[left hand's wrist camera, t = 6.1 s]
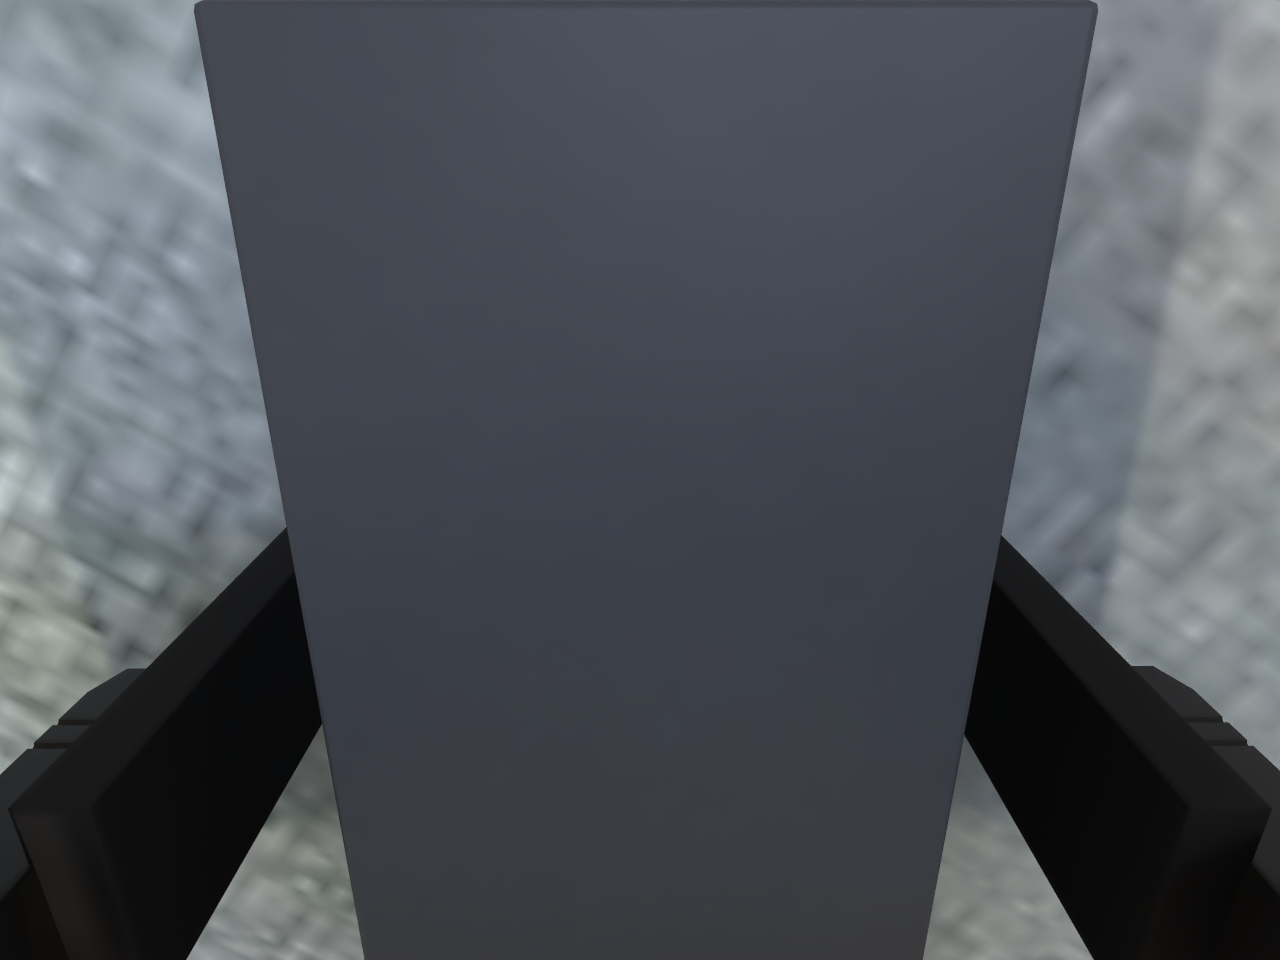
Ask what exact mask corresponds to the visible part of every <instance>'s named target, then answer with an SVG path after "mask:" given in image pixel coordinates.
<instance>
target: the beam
mask: <svg viewBox="0 0 1280 960" xmlns="http://www.w3.org/2000/svg"><path fill="white" fill-rule="evenodd" d="M1097 13H1098V7H1097V4H1096V3H1094V2H1092V1H1090V0H202V1H200V2H198V3H196V4H195V8H194V14H195V19H196V25H197V30H198V36H199V41H200V47H201V52H202V58H203V64H204V69H205V75H206V80H207V86H208V91H209V97H210V102H211V108H212V114H213V119H214V125H215V130H216V136H217V141H218V147H219V152H220V158H221V164H222V169H223V175H224V180H225V186H226V191H227V197H228V202H229V208H230V214H231V219H232V225H233V230H234V236H235V241H236V247H237V252H238V258H239V264H240V269H241V275H242V280H243V286H244V291H245V297H246V302H247V308H248V314H249V319H250V325H251V330H252V336H253V341H254V347H255V353H256V358H257V364H258V369H259V375H260V380H261V386H262V391H263V397H264V403H265V408H266V414H267V419H268V425H269V430H270V436H271V441H272V447H273V453H274V458H275V464H276V469H277V475H278V480H279V486H280V491H281V497H282V503H283V508H284V514H285V519H286V525H287V530H288V536H289V541H290V547H291V553H292V558H293V564H294V569H295V575H296V580H297V586H298V591H299V597H300V603H301V608H302V614H303V619H304V625H305V630H306V636H307V641H308V647H309V653H310V658H311V664H312V669H313V675H314V680H315V686H316V691H317V697H318V703H319V708H320V714H321V719H322V725H323V730H324V736H325V741H326V747H327V753H328V758H329V764H330V769H331V775H332V780H333V786H334V791H335V797H336V803H337V808H338V814H339V819H340V825H341V830H342V836H343V841H344V847H345V853H346V858H347V864H348V869H349V875H350V880H351V886H352V892H353V897H354V903H355V908H356V914H357V919H358V925H359V930H360V936H361V942H362V947H363V953H364V958H365V960H922V959H923V954H924V949H925V943H926V938H927V932H928V927H929V922H930V916H931V911H932V905H933V900H934V895H935V889H936V884H937V878H938V873H939V867H940V862H941V857H942V851H943V846H944V840H945V835H946V830H947V824H948V819H949V813H950V808H951V803H952V797H953V792H954V786H955V781H956V776H957V770H958V765H959V759H960V754H961V749H962V743H963V738H964V732H965V727H966V722H967V716H968V711H969V705H970V700H971V694H972V689H973V684H974V678H975V673H976V667H977V662H978V657H979V651H980V646H981V640H982V635H983V630H984V624H985V619H986V613H987V608H988V603H989V597H990V592H991V586H992V581H993V576H994V570H995V565H996V559H997V554H998V548H999V543H1000V538H1001V532H1002V527H1003V521H1004V516H1005V511H1006V505H1007V500H1008V494H1009V489H1010V484H1011V478H1012V473H1013V467H1014V462H1015V457H1016V451H1017V446H1018V440H1019V435H1020V430H1021V424H1022V419H1023V413H1024V408H1025V403H1026V397H1027V392H1028V386H1029V381H1030V375H1031V370H1032V365H1033V359H1034V354H1035V348H1036V343H1037V338H1038V332H1039V327H1040V321H1041V316H1042V311H1043V305H1044V300H1045V294H1046V289H1047V284H1048V278H1049V273H1050V267H1051V262H1052V257H1053V251H1054V246H1055V240H1056V235H1057V230H1058V224H1059V219H1060V213H1061V208H1062V202H1063V197H1064V192H1065V186H1066V181H1067V175H1068V170H1069V165H1070V159H1071V154H1072V148H1073V143H1074V138H1075V132H1076V127H1077V121H1078V116H1079V111H1080V105H1081V100H1082V94H1083V89H1084V84H1085V78H1086V73H1087V67H1088V62H1089V56H1090V51H1091V46H1092V40H1093V35H1094V29H1095V24H1096V19H1097Z"/></svg>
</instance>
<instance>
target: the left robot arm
mask: <svg viewBox="0 0 1280 960" xmlns="http://www.w3.org/2000/svg"><path fill="white" fill-rule="evenodd" d="M321 724H322V719H321V714H320V708H319V703H318V697H317V691H316V686H315V680H314V675H313V669H312V664H311V658H310V653H309V647H308V641H307V636H306V630H305V625H304V619H303V614H302V608H301V603H300V597H299V591H298V586H297V580H296V575H295V569H294V564H293V558H292V553H291V547H290V541H289V536H288V530H287V527H286V528H285V529H284V530H283V531H282V532H281V533H280V534H279V535H278V536H277V537H276V538H275V539H274V540H273V541H272V542H271V543H270V544H269V546H268V547H267V548H266V549H265V550H264V551H263V552H262V553H261V554H260V555H259V556H258V557H257V558H256V559H255V560H254V561H253V562H252V563H251V564H250V565H249V566H248V567H247V568H246V569H245V570H244V571H243V572H242V573H241V574H240V575H239V576H238V577H237V578H236V579H235V580H234V581H233V582H232V583H231V584H230V585H229V586H228V587H227V588H226V589H225V590H224V591H223V592H222V593H221V594H220V595H219V596H218V597H217V598H216V599H215V600H214V601H213V602H212V603H211V604H210V605H209V606H208V607H207V608H206V609H205V610H204V611H203V612H202V613H201V614H200V615H199V616H198V617H197V618H196V619H195V620H194V621H193V622H192V623H191V624H190V625H189V626H188V627H187V628H186V629H185V630H184V631H183V632H182V633H181V634H180V635H179V636H178V637H177V638H176V639H175V640H174V641H173V642H172V643H171V644H170V645H169V646H168V647H167V648H166V649H165V650H164V651H163V652H162V653H161V654H160V655H159V656H158V657H157V658H156V659H155V660H154V662H153V663H152V664H151V665H150V666H149V667H148V668H147V669H126V670H125V671H123V672H121V673H120V674H118V675H116V676H114V677H113V678H111V679H109V680H108V681H106V682H104V683H103V684H101V685H99V686H97V687H96V688H94V689H92V690H91V691H89V692H87V693H86V694H85V695H84V696H83V697H82V698H81V699H80V700H79V701H78V702H77V703H76V704H75V705H74V706H73V707H71V708H70V709H69V710H68V711H67V712H66V713H65V714H64V715H63V716H62V717H61V718H60V719H59V722H58V725H52V726H51V727H50V728H49V729H48V730H47V731H46V732H45V733H44V734H43V735H42V736H41V737H40V738H39V739H38V740H37V741H35V742H34V747H33V749H27V750H26V751H25V752H24V753H23V754H22V755H21V756H20V757H19V758H17V759H16V760H15V761H14V762H13V763H12V764H11V765H10V766H9V767H8V768H7V769H6V770H5V771H4V772H3V773H2V774H1V775H0V960H186V959H187V957H188V956H189V954H190V952H191V950H192V949H193V947H194V945H195V944H196V942H197V940H198V938H199V937H200V935H201V933H202V931H203V930H204V928H205V926H206V924H207V923H208V921H209V919H210V917H211V916H212V914H213V912H214V910H215V909H216V907H217V905H218V904H219V902H220V900H221V898H222V897H223V895H224V893H225V891H226V890H227V888H228V886H229V884H230V883H231V881H232V879H233V877H234V876H235V874H236V872H237V871H238V869H239V867H240V865H241V864H242V862H243V860H244V858H245V857H246V855H247V853H248V851H249V850H250V848H251V846H252V844H253V843H254V841H255V839H256V837H257V836H258V834H259V832H260V831H261V829H262V827H263V825H264V824H265V822H266V820H267V818H268V817H269V815H270V813H271V811H272V810H273V808H274V806H275V804H276V803H277V801H278V799H279V797H280V796H281V794H282V792H283V791H284V789H285V787H286V785H287V784H288V782H289V780H290V778H291V777H292V775H293V773H294V771H295V770H296V768H297V766H298V764H299V763H300V761H301V759H302V758H303V756H304V754H305V752H306V751H307V749H308V747H309V745H310V744H311V742H312V740H313V738H314V737H315V735H316V733H317V731H318V730H319V728H320V726H321ZM964 735H965V737H966V738H967V740H968V742H969V744H970V745H971V747H972V749H973V751H974V752H975V754H976V756H977V757H978V759H979V761H980V763H981V764H982V766H983V768H984V770H985V771H986V773H987V775H988V777H989V778H990V780H991V782H992V784H993V785H994V787H995V789H996V791H997V792H998V794H999V796H1000V797H1001V799H1002V801H1003V803H1004V804H1005V806H1006V808H1007V810H1008V811H1009V813H1010V815H1011V817H1012V818H1013V820H1014V822H1015V824H1016V825H1017V827H1018V829H1019V830H1020V832H1021V834H1022V836H1023V837H1024V839H1025V841H1026V843H1027V844H1028V846H1029V848H1030V850H1031V851H1032V853H1033V855H1034V857H1035V858H1036V860H1037V862H1038V864H1039V865H1040V867H1041V869H1042V870H1043V872H1044V874H1045V876H1046V877H1047V879H1048V881H1049V883H1050V884H1051V886H1052V888H1053V890H1054V891H1055V893H1056V895H1057V897H1058V898H1059V900H1060V902H1061V904H1062V905H1063V907H1064V909H1065V910H1066V912H1067V914H1068V916H1069V917H1070V919H1071V921H1072V923H1073V924H1074V926H1075V928H1076V930H1077V931H1078V933H1079V935H1080V937H1081V938H1082V940H1083V942H1084V943H1085V945H1086V947H1087V949H1088V950H1089V952H1090V954H1091V956H1092V957H1093V959H1094V960H1280V771H1279V770H1278V769H1277V768H1276V767H1275V766H1274V765H1273V764H1272V763H1271V762H1270V761H1269V760H1268V759H1267V758H1266V757H1265V756H1263V755H1262V754H1261V753H1260V752H1259V751H1258V750H1257V749H1256V748H1255V747H1254V746H1248V745H1247V740H1246V739H1245V738H1244V737H1243V736H1242V735H1241V734H1240V733H1239V732H1238V731H1237V730H1236V729H1235V728H1234V727H1233V726H1232V725H1230V724H1229V723H1228V722H1223V720H1222V716H1221V715H1220V714H1219V713H1218V712H1217V711H1216V710H1214V709H1213V708H1212V707H1211V706H1210V705H1209V704H1208V703H1207V702H1206V701H1205V700H1204V699H1203V698H1202V697H1201V696H1200V695H1198V694H1197V693H1196V692H1195V691H1194V690H1193V689H1191V688H1190V687H1188V686H1186V685H1185V684H1183V683H1181V682H1179V681H1178V680H1176V679H1174V678H1172V677H1171V676H1169V675H1167V674H1166V673H1164V672H1162V671H1160V670H1159V669H1157V668H1155V667H1154V666H1130V665H1129V664H1128V663H1127V661H1126V660H1125V659H1124V658H1123V657H1122V656H1121V655H1120V654H1119V653H1118V652H1117V651H1116V650H1115V649H1114V648H1113V647H1112V646H1111V645H1110V644H1109V643H1108V642H1107V641H1106V640H1105V639H1104V638H1103V637H1102V636H1101V635H1100V634H1099V633H1098V632H1097V631H1096V630H1095V629H1094V628H1093V627H1092V626H1091V625H1090V624H1089V623H1088V622H1087V621H1086V620H1085V619H1084V618H1083V617H1082V616H1081V615H1080V614H1079V613H1078V612H1077V611H1076V610H1075V609H1074V608H1073V607H1072V606H1071V605H1070V604H1069V603H1068V602H1067V601H1066V600H1065V599H1064V598H1063V597H1062V596H1061V595H1060V594H1059V593H1058V592H1057V591H1056V590H1055V589H1054V588H1053V587H1052V586H1051V585H1050V584H1049V583H1048V582H1047V581H1046V580H1045V579H1044V578H1043V577H1042V576H1041V575H1040V574H1039V573H1038V572H1037V571H1036V570H1035V569H1034V568H1033V567H1032V566H1031V565H1030V564H1029V563H1028V562H1027V561H1026V560H1025V559H1024V558H1023V557H1022V556H1021V555H1020V554H1019V553H1018V552H1017V551H1016V550H1015V549H1014V548H1013V546H1012V545H1011V544H1010V543H1009V542H1008V541H1007V540H1006V539H1005V538H1004V537H1003V536H1002V535H1001V538H1000V543H999V548H998V554H997V559H996V565H995V570H994V576H993V581H992V586H991V592H990V597H989V603H988V608H987V613H986V619H985V624H984V630H983V635H982V640H981V646H980V651H979V657H978V662H977V667H976V673H975V678H974V684H973V689H972V694H971V700H970V705H969V711H968V716H967V722H966V727H965V732H964Z"/></svg>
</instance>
